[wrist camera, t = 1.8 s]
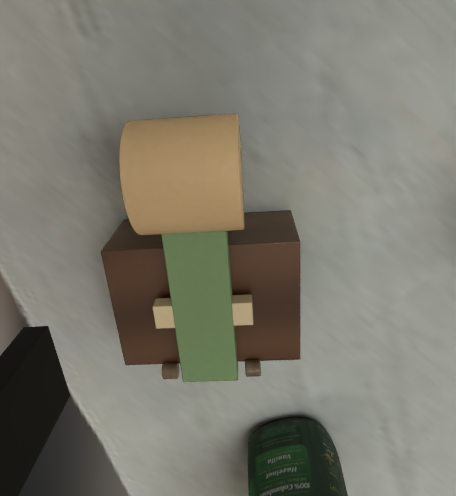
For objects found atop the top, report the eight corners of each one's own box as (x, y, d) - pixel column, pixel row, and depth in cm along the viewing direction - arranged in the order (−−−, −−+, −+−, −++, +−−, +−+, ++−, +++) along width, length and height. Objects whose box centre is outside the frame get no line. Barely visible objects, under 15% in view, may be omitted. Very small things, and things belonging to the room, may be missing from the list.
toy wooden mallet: (137, 114, 24) (105, 131, 18) (242, 106, 24) (241, 121, 18) (173, 348, 31) (157, 411, 25) (255, 345, 30) (257, 408, 25)
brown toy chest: (124, 219, 30) (95, 257, 24) (290, 210, 30) (302, 247, 24) (144, 328, 34) (123, 383, 28) (292, 323, 33) (301, 378, 28)
